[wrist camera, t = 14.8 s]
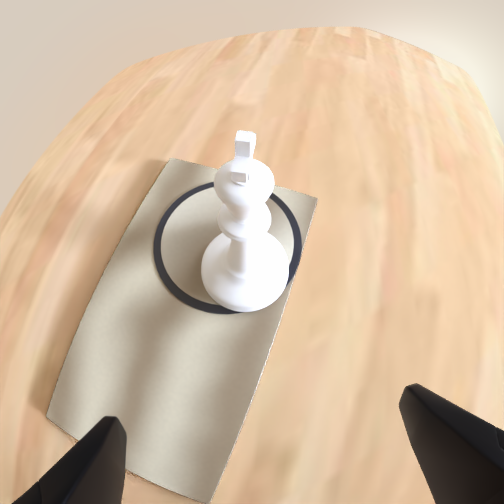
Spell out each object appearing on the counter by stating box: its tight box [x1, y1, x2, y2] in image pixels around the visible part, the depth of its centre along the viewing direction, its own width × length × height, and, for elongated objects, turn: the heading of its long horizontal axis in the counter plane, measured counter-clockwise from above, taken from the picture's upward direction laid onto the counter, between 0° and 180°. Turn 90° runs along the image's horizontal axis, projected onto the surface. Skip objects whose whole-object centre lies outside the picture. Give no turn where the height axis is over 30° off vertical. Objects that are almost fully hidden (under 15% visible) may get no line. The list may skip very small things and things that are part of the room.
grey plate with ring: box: [46, 158, 318, 504], centre depth 16 cm, size 11×20×1 cm, turn 161°
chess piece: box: [201, 130, 289, 312], centre depth 12 cm, size 5×5×10 cm
